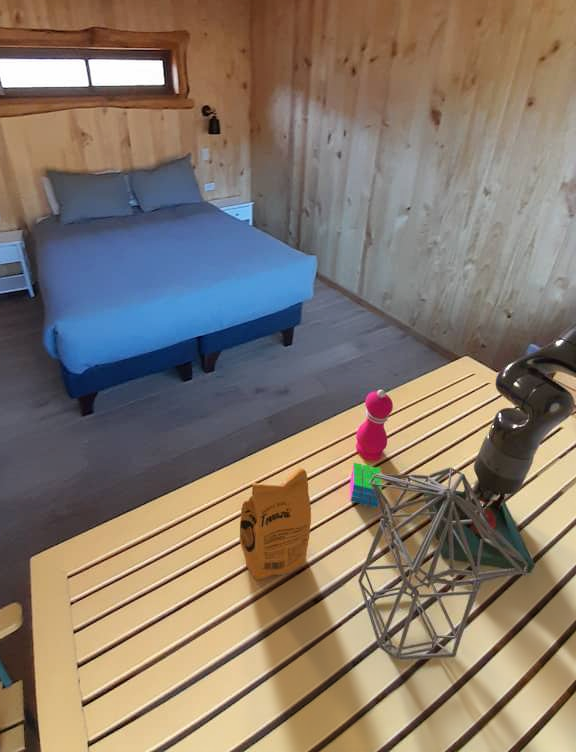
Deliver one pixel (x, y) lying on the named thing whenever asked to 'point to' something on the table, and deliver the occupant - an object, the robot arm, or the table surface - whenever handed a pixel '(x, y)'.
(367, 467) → the puzzle toy
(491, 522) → the onion
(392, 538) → the geometric lantern
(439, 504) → the tray
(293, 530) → the coffee package
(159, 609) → the table surface
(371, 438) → the pepper mill
